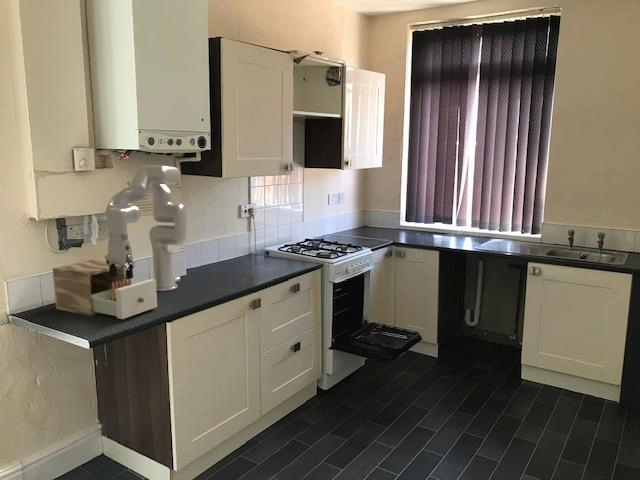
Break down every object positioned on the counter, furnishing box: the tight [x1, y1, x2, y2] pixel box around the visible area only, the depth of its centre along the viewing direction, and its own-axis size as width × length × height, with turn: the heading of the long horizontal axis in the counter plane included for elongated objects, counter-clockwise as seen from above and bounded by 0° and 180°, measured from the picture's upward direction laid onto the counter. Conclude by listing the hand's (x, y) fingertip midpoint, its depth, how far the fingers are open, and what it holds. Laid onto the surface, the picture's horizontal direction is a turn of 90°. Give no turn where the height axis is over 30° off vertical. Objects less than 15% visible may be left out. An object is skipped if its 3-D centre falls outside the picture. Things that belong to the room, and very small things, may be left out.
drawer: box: [91, 278, 158, 320], centre depth 230 cm, size 19×24×12 cm
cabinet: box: [52, 259, 127, 317], centre depth 238 cm, size 20×22×18 cm
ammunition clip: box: [111, 278, 132, 302], centre depth 229 cm, size 11×2×12 cm, turn 152°
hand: (121, 277), depth 229 cm, fingers open, 9 cm apart
